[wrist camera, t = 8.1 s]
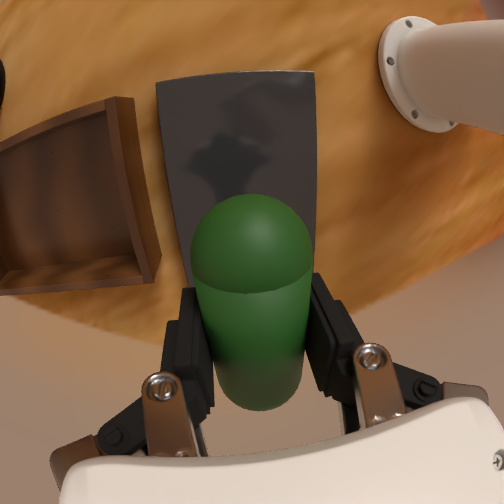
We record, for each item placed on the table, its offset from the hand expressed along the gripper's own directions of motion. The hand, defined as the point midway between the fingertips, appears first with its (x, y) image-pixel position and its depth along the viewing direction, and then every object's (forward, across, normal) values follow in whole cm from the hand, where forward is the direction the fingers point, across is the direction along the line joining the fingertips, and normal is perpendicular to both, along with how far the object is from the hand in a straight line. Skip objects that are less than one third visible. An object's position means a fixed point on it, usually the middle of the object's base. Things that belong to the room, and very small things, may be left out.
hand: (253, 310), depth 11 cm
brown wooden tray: (+14, +18, -3) cm, 23 cm away
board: (+14, -1, 0) cm, 14 cm away
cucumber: (+1, 0, 0) cm, 1 cm away
